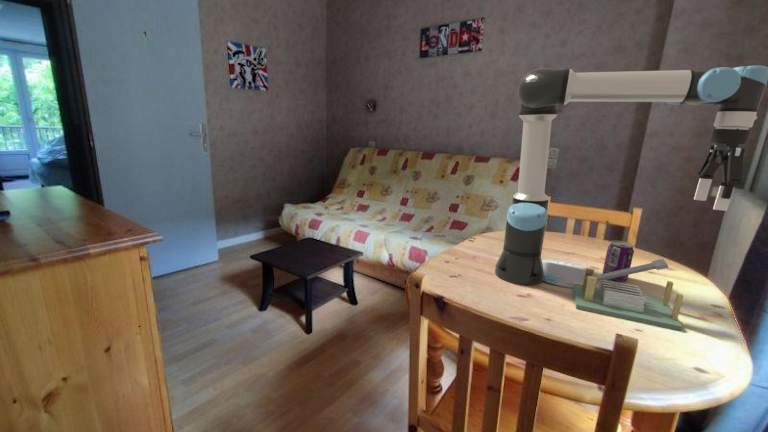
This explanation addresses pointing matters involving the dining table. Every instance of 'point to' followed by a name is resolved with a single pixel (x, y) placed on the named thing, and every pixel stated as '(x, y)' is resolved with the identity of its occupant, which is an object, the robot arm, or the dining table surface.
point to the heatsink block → (621, 296)
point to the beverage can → (618, 258)
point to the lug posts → (590, 287)
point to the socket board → (651, 314)
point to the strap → (632, 270)
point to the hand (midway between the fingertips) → (709, 204)
